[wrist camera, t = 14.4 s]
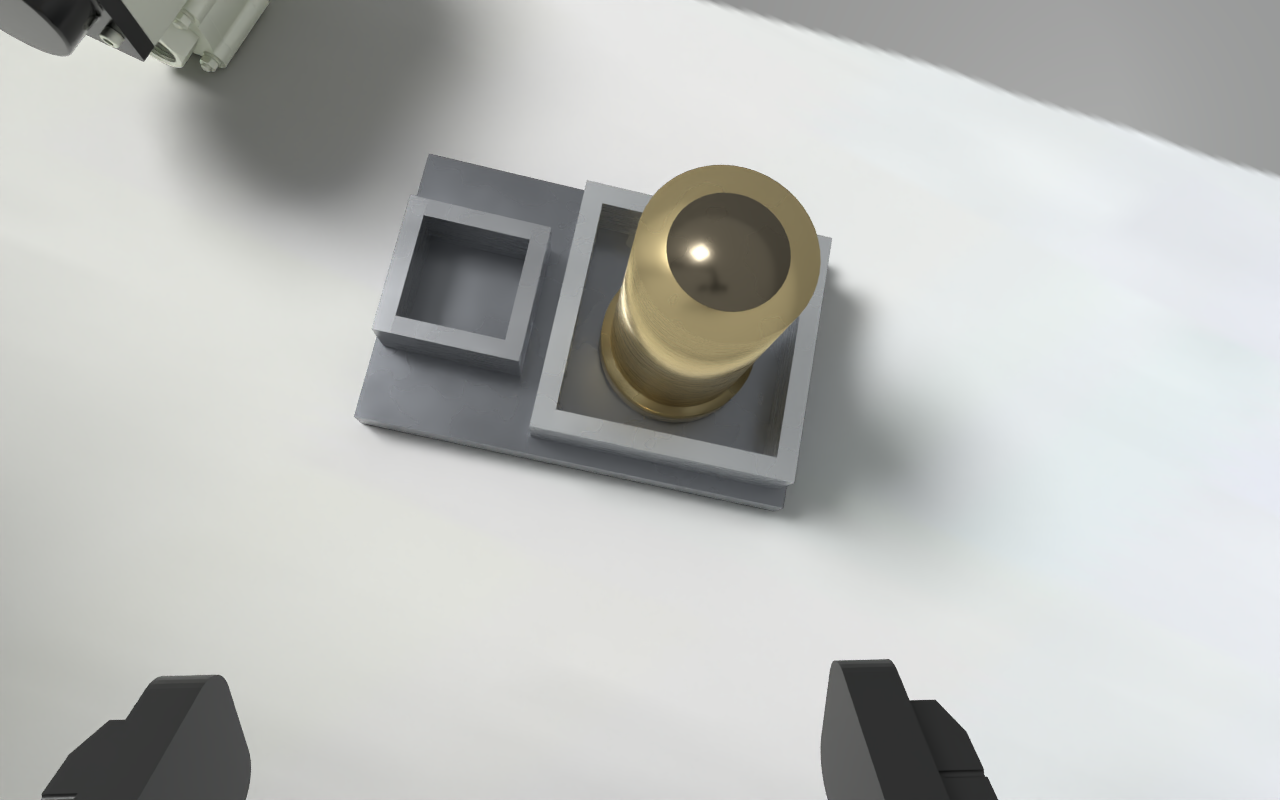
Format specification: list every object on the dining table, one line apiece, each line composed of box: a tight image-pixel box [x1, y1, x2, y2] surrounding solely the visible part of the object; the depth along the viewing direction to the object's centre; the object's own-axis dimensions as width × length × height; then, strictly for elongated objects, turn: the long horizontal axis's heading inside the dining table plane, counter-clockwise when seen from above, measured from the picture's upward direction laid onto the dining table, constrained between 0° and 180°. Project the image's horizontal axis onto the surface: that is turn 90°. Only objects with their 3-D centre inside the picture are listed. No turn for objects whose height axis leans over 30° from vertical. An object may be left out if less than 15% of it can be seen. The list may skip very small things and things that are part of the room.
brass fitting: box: [599, 165, 821, 423], centre depth 26 cm, size 5×5×9 cm
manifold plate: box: [354, 154, 832, 511], centre depth 29 cm, size 15×10×3 cm, turn 79°
